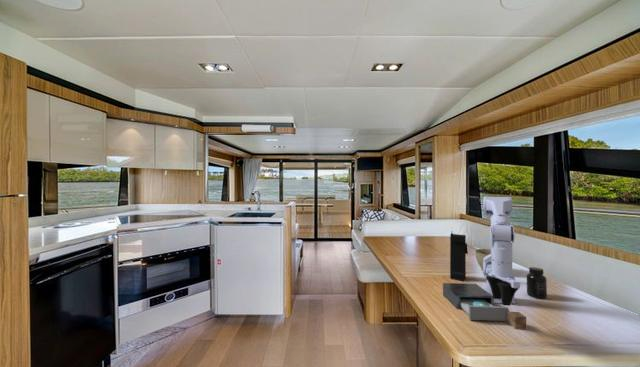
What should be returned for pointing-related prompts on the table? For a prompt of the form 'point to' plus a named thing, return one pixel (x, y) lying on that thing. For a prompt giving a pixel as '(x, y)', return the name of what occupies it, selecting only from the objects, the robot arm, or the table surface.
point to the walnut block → (517, 320)
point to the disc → (480, 303)
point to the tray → (484, 310)
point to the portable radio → (458, 256)
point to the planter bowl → (481, 256)
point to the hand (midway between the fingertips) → (501, 301)
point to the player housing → (465, 293)
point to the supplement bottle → (536, 283)
